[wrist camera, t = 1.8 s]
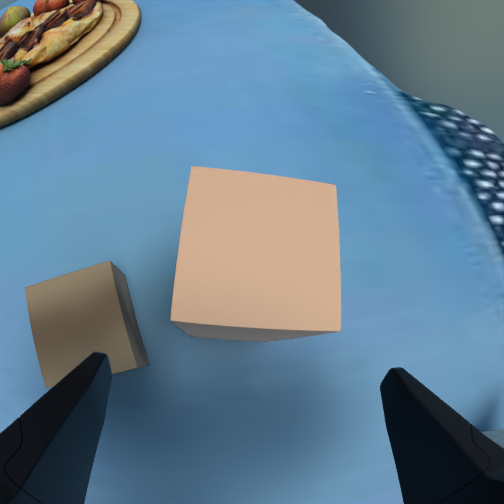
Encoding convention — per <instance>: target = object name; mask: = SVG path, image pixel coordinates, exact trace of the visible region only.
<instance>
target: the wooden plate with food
mask: <svg viewBox="0 0 504 504" xmlns="http://www.w3.org/2000/svg"><path fill="white" fill-rule="evenodd" d="M140 22H141V10H140V8H139V6H138V5H137V4H136V3H135V2H134V1H133V0H37V1H36V2H35V4H34V7H33V13H32V14H31V13H30V11H29V10H28V9H27V8H25V7H22V6H16V7H9V8H8V9H7V10H6V12H5V13H4V14H3V15H2V17H1V19H0V127H2V126H5V125H7V124H9V123H12V122H14V121H16V120H18V119H20V118H23V117H25V116H27V115H28V114H30V113H32V112H34V111H36V110H38V109H40V108H42V107H43V106H45V105H47V104H49V103H50V102H52V101H54V100H55V99H57V98H59V97H60V96H62V95H63V94H65V93H67V92H68V91H70V90H71V89H73V88H74V87H76V86H77V85H79V84H80V83H82V82H84V81H85V80H86V79H88V78H89V77H91V76H92V75H93V74H95V73H96V72H97V71H99V70H100V69H101V68H103V67H104V66H105V65H106V64H108V63H109V62H110V61H111V60H112V59H113V58H115V57H116V56H117V55H118V54H119V53H120V52H121V51H122V50H123V49H124V48H125V47H126V46H127V45H128V44H129V43H130V41H131V40H132V39H133V37H134V36H135V34H136V32H137V31H138V28H139V25H140Z"/></svg>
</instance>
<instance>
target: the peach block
mask: <svg viewBox="0 0 504 504" xmlns="http://www.w3.org/2000/svg"><path fill="white" fill-rule="evenodd" d="M170 321H172V322H173V323H174V324H176V325H177V326H178V327H180V328H181V329H182V330H184V331H185V332H186V333H188V334H189V335H190V336H192V337H201V338H212V339H225V340H238V341H254V342H269V341H278V340H285V339H293V338H300V337H307V336H314V335H320V334H327V333H333V332H339V331H341V276H340V244H339V224H338V208H337V194H336V185H332V184H326V183H320V182H314V181H308V180H302V179H295V178H288V177H282V176H274V175H267V174H259V173H251V172H243V171H234V170H225V169H216V168H205V167H194V166H192V167H191V173H190V178H189V184H188V190H187V196H186V202H185V208H184V215H183V221H182V228H181V235H180V242H179V249H178V257H177V264H176V272H175V281H174V290H173V299H172V308H171V319H170Z"/></svg>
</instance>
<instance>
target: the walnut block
mask: <svg viewBox="0 0 504 504" xmlns="http://www.w3.org/2000/svg"><path fill="white" fill-rule="evenodd" d="M25 291H26V298H27V305H28V311H29V317H30V323H31V328H32V333H33V338H34V343H35V348H36V352H37V356H38V360H39V364H40V368H41V372H42V376H43V379H44V383H45V386H46V388H48V387H53V386H55V385H56V384H57V383H58V382H59V381H60V380H61V379H63V378H64V377H65V376H66V375H67V374H68V373H69V372H71V371H72V370H73V369H74V368H75V367H76V366H77V365H79V364H80V363H81V362H82V361H83V360H84V359H86V358H87V357H88V356H89V355H90V354H91V353H93V352H95V351H96V352H102V353H106V354H107V355H108V358H109V363H110V367H111V371H112V374H115V373H119V372H123V371H127V370H131V369H135V368H139V367H142V366H146V365H149V361H148V358H147V355H146V351H145V348H144V345H143V342H142V338H141V335H140V331H139V328H138V324H137V321H136V317H135V313H134V309H133V306H132V302H131V298H130V294H129V290H128V285H127V281H126V277H125V275H124V274H123V273H122V272H121V271H120V270H119V269H118V268H117V267H116V266H115V265H114V264H113V263H112V262H111V261H107V262H104V263H100V264H97V265H94V266H91V267H87V268H84V269H81V270H78V271H75V272H71V273H68V274H65V275H62V276H59V277H56V278H53V279H49V280H46V281H43V282H40V283H37V284H34V285H31V286H28V287H25Z"/></svg>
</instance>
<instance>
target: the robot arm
mask: <svg viewBox="0 0 504 504" xmlns="http://www.w3.org/2000/svg"><path fill="white" fill-rule="evenodd" d="M111 378H112V371H111V367H110V363H109V358H108V355H107V354H106V353H102V352H96V351H95V352H93V353H91V354H90V355H89V356H88V357H87V358H86V359H84V360H83V361H82V362H81V363H80V364H79V365H77V366H76V367H75V368H74V369H73V370H72V371H71V372H69V373H68V374H67V375H66V376H65V377H64V378H63V379H61V380H60V381H59V382H58V383H57V384H56V385H55V386H53V387H52V388H51V389H50V390H49V391H48V392H47V393H45V394H44V395H43V396H42V397H41V398H40V399H39V400H38V401H36V402H35V403H34V404H33V405H32V406H31V407H30V408H29V409H27V410H26V411H25V412H24V413H23V414H22V415H21V416H20V418H17V419H16V420H15V421H14V422H13V423H12V424H11V425H10V426H8V427H7V428H6V429H5V430H4V431H3V432H1V433H0V504H84V502H85V497H86V492H87V488H88V483H89V479H90V474H91V470H92V466H93V462H94V457H95V453H96V450H97V446H98V442H99V438H100V434H101V431H102V427H103V423H104V419H105V413H106V407H107V401H108V395H109V389H110V384H111ZM380 392H381V398H382V404H383V410H384V416H385V423H386V428H387V432H388V436H389V440H390V444H391V448H392V452H393V456H394V460H395V465H396V469H397V473H398V478H399V483H400V487H401V492H402V497H403V502H404V504H504V448H503V447H501V446H500V445H498V444H497V443H495V442H494V441H492V440H491V439H490V438H488V437H487V436H485V435H484V434H483V433H482V432H480V431H479V430H478V429H477V428H475V427H474V426H473V425H472V424H470V423H469V422H468V421H467V420H466V419H464V418H463V417H462V416H461V415H460V414H458V413H457V412H456V411H455V410H453V409H452V408H451V407H450V406H449V405H447V404H446V403H445V402H444V401H442V400H441V399H440V398H439V397H438V396H436V395H435V394H434V393H433V392H431V391H430V390H429V389H428V388H427V387H425V386H424V385H423V384H422V383H420V382H419V381H418V380H417V379H416V378H414V377H413V376H412V375H411V374H409V373H408V372H407V371H406V370H404V369H403V368H401V367H397V368H391V369H390V370H389V371H388V373H387V374H386V376H385V378H384V379H383V381H382V382H381V385H380Z"/></svg>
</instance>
